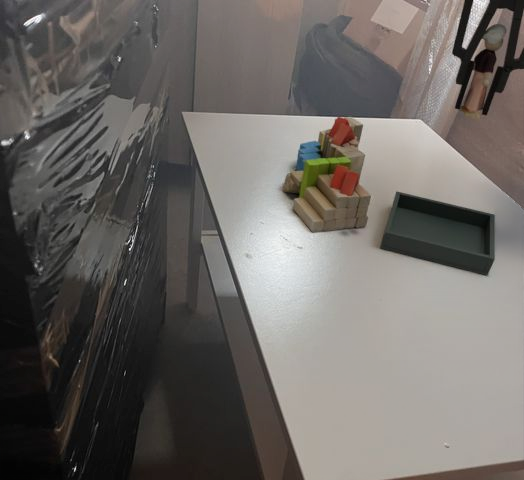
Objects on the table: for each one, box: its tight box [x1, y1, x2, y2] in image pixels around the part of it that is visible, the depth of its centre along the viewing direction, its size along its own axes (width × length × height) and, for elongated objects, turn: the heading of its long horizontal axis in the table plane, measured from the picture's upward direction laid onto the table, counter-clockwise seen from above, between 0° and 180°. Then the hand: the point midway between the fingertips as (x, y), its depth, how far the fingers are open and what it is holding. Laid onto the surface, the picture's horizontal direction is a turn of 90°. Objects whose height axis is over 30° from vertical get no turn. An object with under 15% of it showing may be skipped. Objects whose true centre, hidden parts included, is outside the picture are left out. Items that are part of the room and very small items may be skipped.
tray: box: [379, 190, 496, 276], centre depth 99 cm, size 18×16×3 cm
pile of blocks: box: [282, 116, 372, 233], centre depth 107 cm, size 36×15×11 cm, turn 177°
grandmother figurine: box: [459, 23, 507, 120], centre depth 88 cm, size 8×4×13 cm, turn 11°
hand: (471, 109), depth 92 cm, fingers closed on grandmother figurine, 3 cm apart
